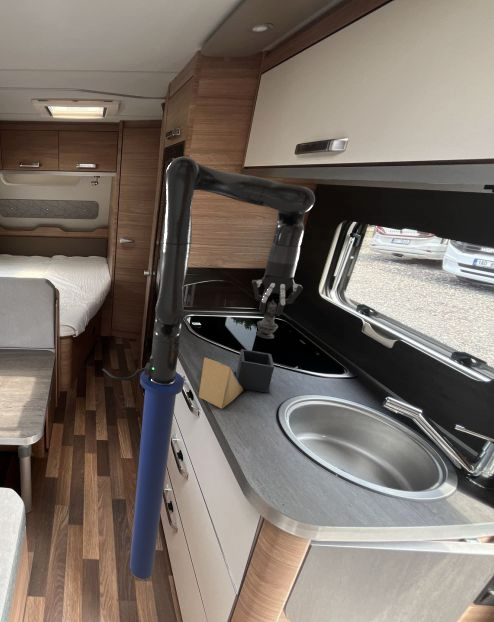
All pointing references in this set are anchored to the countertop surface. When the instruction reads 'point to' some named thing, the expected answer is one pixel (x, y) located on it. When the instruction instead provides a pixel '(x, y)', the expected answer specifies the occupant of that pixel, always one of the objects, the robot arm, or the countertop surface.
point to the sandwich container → (218, 384)
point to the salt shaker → (268, 321)
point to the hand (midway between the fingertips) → (269, 313)
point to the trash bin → (254, 370)
